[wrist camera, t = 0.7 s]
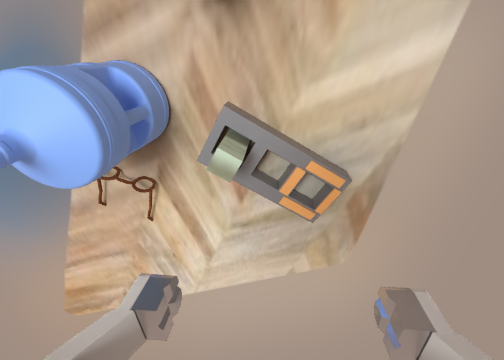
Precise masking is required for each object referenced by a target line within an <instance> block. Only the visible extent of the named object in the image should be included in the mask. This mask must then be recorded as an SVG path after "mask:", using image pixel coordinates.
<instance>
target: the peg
mask: <svg viewBox="0 0 504 360" xmlns="http://www.w3.org/2000/svg"><path fill="white" fill-rule="evenodd" d="M249 142H250V139H249V138H247V137H245V136H243V135H242V134H240V133H238V132H236V131H235V130H233V129H231V128H230V129H229V131H228V132H227V134H226V135H225V137H224V138H223V140H222V141H221V143H220V144H219V146H218V147H217V149H216V151H215V153H214V155H213V157H212V159H211V161H210V163H209V165H208V167H207V169H206V170H208V171H210V172H211V173H213V174H215V175H217V176H219V177H221V178H223V179H225V180H226V181H228V182H231V180H232V178H233V177H234V175H235V173H236V172H237V170H238V168H239V167H240V165H241V163H242V162H243V159H244V156H245V153H246V150H247V147H248V145H249Z"/></svg>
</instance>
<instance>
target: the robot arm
mask: <svg viewBox="0 0 504 360" xmlns="http://www.w3.org/2000/svg"><path fill="white" fill-rule="evenodd" d="M178 282H179V281H178V277H177V276H169V275H157V274H143V273H142V274H140V275H139V276H138V277H137V279H136V280H135V282H134V283H133V285H132V286H131V288H130V290H129V291H128V293H127V294H126V296H125V297H124V299H123V300H122V302H121V303H120V305H119V306H118V308H117V309H113V310H111V311H110V312H108V313H107V314H106V315H104V316H103V317H101V318H100V319H98V320H97V321H96V322H94V323H93V324H92V325H90V326H89V327H87V328H86V329H85V330H83V331H82V332H80V333H79V334H77V335H76V336H75V337H73V338H72V339H70V340H69V341H68V342H66V343H65V344H63V345H62V346H61V347H59V348H58V349H56V350H55V351H54V352H52V353H51V354H49V355H48V356H46V357H45V358H44V359H43V360H128V359H129V358H130V357H131V356H132V355H133V354H134V353H135V352H136V351H137V350H138V349H139V348H140V347H141V346H142V345H143V344H144V343H145V342H146V340H164V341H167V339H168V336H169V334H170V331H171V329H172V326H173V320H172V318H173V317H174V316H175V315H176V314H177V313H178V311H179V308H180V305H181V299H182V292H181V289H180V288H179V287H178V286H177V285H178ZM378 295H379V297H380V298H379V299H378V300H376V301H375V305H374V315H375V319H376V322H377V325H378V328H379V329H381V331H382V332H383V333H384V334H385V335H384V339H383V342H384V344H385V347H386V349H387V352H388V355H389V357H390V360H492V359H491V358H490V357H488V356H487V355H486V354H484V353H483V352H482V351H480V350H479V349H478V348H477V347H475V346H474V345H473V344H471V343H470V342H469V341H467V340H466V339H465V338H464V337H462V336H461V335H460V334H454V332H453V331H452V329H451V328H450V326H449V324H448V323H447V321H446V320H445V318H444V317H443V315H442V314H441V312H440V310H439V309H438V307H437V306H436V304H435V303H434V301H433V300H432V298H431V297H430V295H429V294H428V292H427V291H426V290H424V289H411V288H394V287H381V288H380V289H379V291H378Z"/></svg>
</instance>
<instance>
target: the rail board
mask: <svg viewBox="0 0 504 360" xmlns="http://www.w3.org/2000/svg"><path fill="white" fill-rule="evenodd" d="M226 126H228V127H229V128H231V129H233V130H235V131H236V132H238V133H240V134H242V135H243V136H245V137H247V138H249V139H250V140H252V141H254V143H253V145H252V146H251V148H250V150H249V151H248V153H247V155H246V156H245V158H244V160H243V162H242V163H241V165H240V167H239V168H238V170H237V172H236V173H235V175H234V177H233V178H232V180H234V181H235V182H237V183H239V184H241V185H243V186H245V187H247V188H249V189H250V190H252V191H254V192H256V193H258V194H260V195H262V196H263V197H265V198H267V199H269V200H271V201H273V202H275V203H276V204H278V205H280V206H282V207H284V208H286V209H288V210H289V211H291V212H293V213H295V214H297V215H299V216H301V217H302V218H304V219H306V220H308V221H310V222H312V223H313V222H314V221H315V220H316V219H317V218H318V217H319V216H320V214H322V213H323V212H324V211H325V210H326V209H327V207H328V206H329V205H330V204H331V203H332V202H333V201H334V200H335V199H336V198H337V197H338V196H339V194H340V193H341V192H342V191H343V189H344V188H345V187H346V186H347V185H348V184H349V183H350V182H351V179H350V177H349V175H348V173H347V171H345V170H343V169H342V168H340V167H338V166H337V165H335V164H333V163H331V162H330V161H328V160H326V159H325V158H323V157H321V156H320V155H318V154H316V153H315V152H313V151H311V150H310V149H308V148H306V147H304V146H303V145H301V144H299V143H298V142H296V141H294V140H293V139H291V138H289V137H288V136H286V135H284V134H283V133H281V132H279V131H277V130H276V129H274V128H272V127H271V126H269V125H267V124H266V123H264V122H262V121H261V120H259V119H257V118H256V117H254V116H252V115H250V114H249V113H247V112H245V111H244V110H242V109H240V108H239V107H237V106H235V105H234V104H232V103H230V102H229V101H228V102H227V103H226V104H225V105H224V106H223V108H222V110H221V112H220V114H219V116H218V118H217V120H216V122H215V124H214V126H213V128H212V130H211V133H210V135H209V137H208V139H207V141H206V143H205V145H204V147H203V149H202V151H201V153H200V155H199V157H198V159H197V161H198V162H200V163H202V164H204V165H206V166H208V165H209V163H210V161H211V159H212V157H213V155H214V153H215V151H216V149H217V146H216V144H217V142H218V140H219V138H220V137H221V135H222V133H223V131H224V129H225V127H226ZM267 149H268V150H269V151H271V152H273V153H275V154H276V155H278V156H280V157H282V158H283V159H285V160H287V161H289V162H290V163H291V164H290V165H289V167H288V168H287V170H286V171H285V172H284V174H283V175H282V176H281V178H280V179H279V181H278V180H276V179H274V178H272V177H271V176H269V175H267V174H265V173H263V172H262V171H260V170H258V169H256V168H255V167H256V166H257V164H258V163H259V161H260V160H261V158H262V157H263V155H264V153H265V152H266V150H267ZM307 172H308V173H309V174H311V175H313V176H315V177H316V178H318V179H320V180H322V181H323V182H325V183H326V184H325V185H324V186H323V188H322V189H321V190H320V191H319V192H318V193H317V195H316V196H315V197H314V198H313V199H310V198H308V197H307V196H305V195H303V194H301V193H299V192H298V191H296V190H294V188H295V187H296V185H297V184H298V183H299V182H300V180H301V179H302V178H303V176H304V175H305V174H306V173H307Z"/></svg>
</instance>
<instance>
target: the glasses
mask: <svg viewBox="0 0 504 360" xmlns="http://www.w3.org/2000/svg"><path fill="white" fill-rule="evenodd" d="M113 168H114V169H116V170H117V173H116V175H114V176H113V177H100V178H99V179H97V182H98V187H99V203H100V204H102V205H105V206H106V203H104V202H102V191H103V190H102V185H101V180H100V179H102V180H114V179H117V180H118V181H120V182H123V183H126V184H132V187H133V188H134V189H135V190H136V191H139V192H149V211H148V217H147V218H148V219H149V220H151V221H153V218H151V217H150V213H151V209H152V190H153V189H154V188H155V184H156V183H155V181H154V180H153V179H152V178H149V177H146V176H142V177H138V178H137V179H135V180H134V181H133V182H132V181H127V180H124V179H121V178H119V177H118V176H119V174H120V169H119V168H118V167H116V166H114V167H113ZM141 179H147V180H150V181H151V182H152V183H153V185H152V187H151V188H149V189H146V190H143V189H139V188H137V187H136V186H135V184H136V182H137V181H139V180H141Z"/></svg>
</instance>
